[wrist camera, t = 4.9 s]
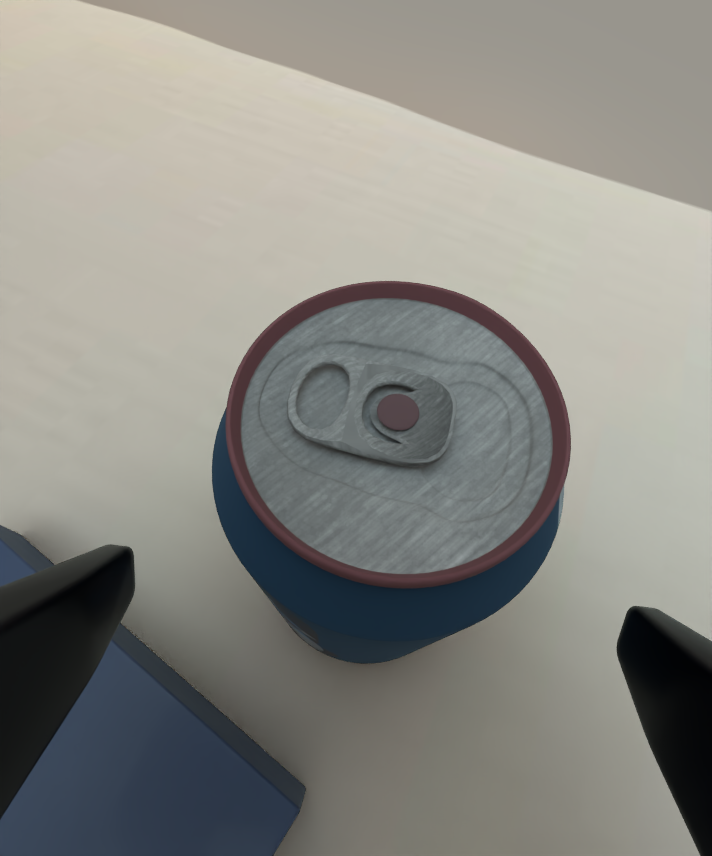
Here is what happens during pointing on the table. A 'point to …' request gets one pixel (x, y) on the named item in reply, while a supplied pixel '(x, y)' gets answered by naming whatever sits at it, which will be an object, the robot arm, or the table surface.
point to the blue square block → (144, 764)
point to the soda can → (390, 466)
